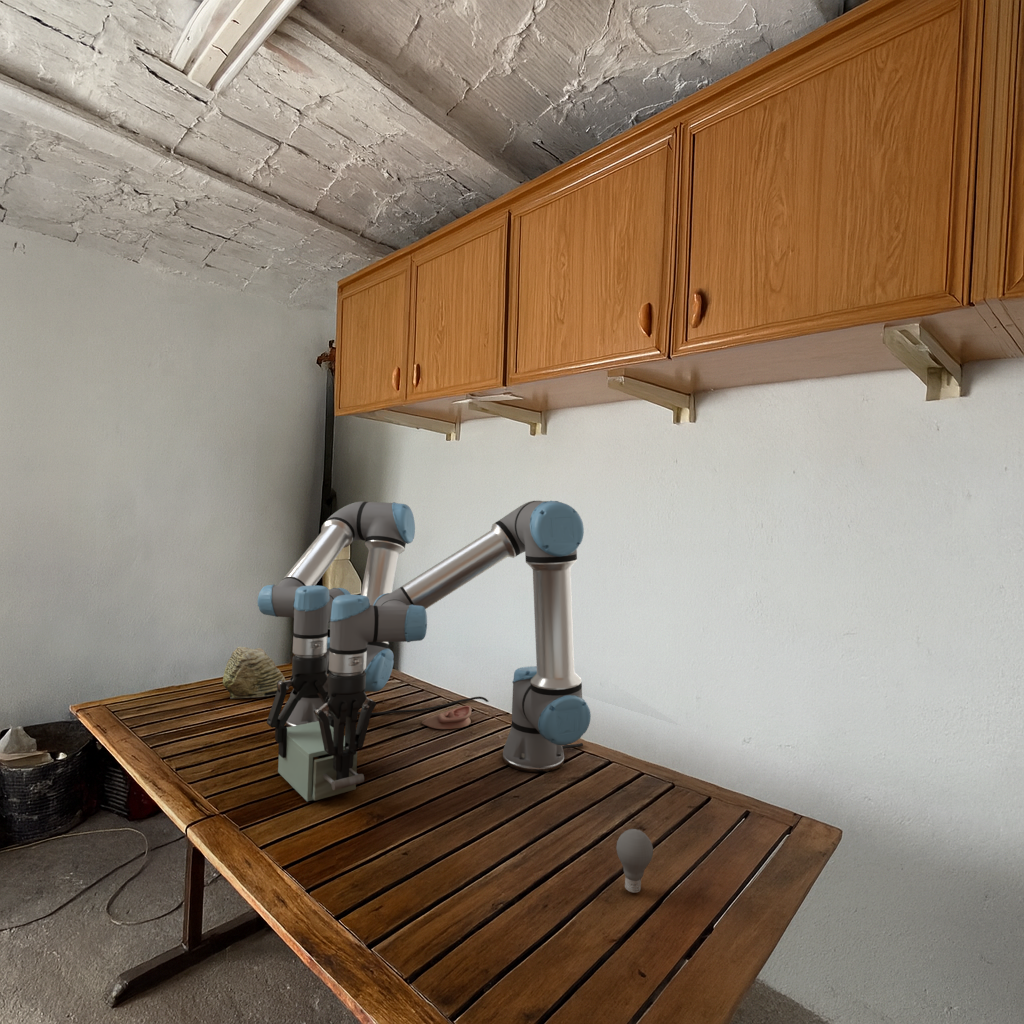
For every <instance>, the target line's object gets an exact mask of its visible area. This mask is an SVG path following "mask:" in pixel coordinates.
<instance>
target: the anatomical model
mask: <svg viewBox="0 0 1024 1024" xmlns="http://www.w3.org/2000/svg"><path fill="white" fill-rule="evenodd" d="M471 715H472V707H471V706H470V705H462V706H459V707H456V708H455V707H454V708H452V709H449V710H447V711H444V712H441V713H437V714H434V715H430V716H429V717H427V718H425V719H423V720H422V721H421V724H422V725H423V726H426V727H429V728H432V729H436V730H453V729H454V730H455V729H460V728H465V727H468V726H469V725H470V724H471V722H472V721H471V718H470V717H471Z"/></svg>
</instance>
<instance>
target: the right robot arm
mask: <svg viewBox="0 0 1024 1024" xmlns="http://www.w3.org/2000/svg"><path fill="white" fill-rule="evenodd" d="M584 534H585V526H584V523H583V520H582V518H581V515H580V514H579V512H578V511H576V509H575V508H574V507H572V506H571V505H569V504H567V503H564V502H562V501H559V500H530V501H528V502H525V503H523V504H522V505H520V506H518V507H516V508H515V509H514V510H512V511H510V512H509V513H508V514H506V515H504V516H503V517H502V518H500V519H498V520H497V521H495V522H494V523H493V524H492V526H491V529H490V530H489V531H487V532H486V533H484V534H483V535H481V536H480V537H478V538H476V539H475V540H473V541H471V542H469V543H468V544H467V545H465V546H463V547H462V548H460V549H459V550H457V551H455V552H454V553H452V554H451V555H449V556H447V557H446V558H444V559H442V560H441V561H440V562H438V563H436V564H435V565H433V566H432V567H430V568H428V569H427V570H425V571H424V572H422V573H420V574H419V575H417V576H416V577H414V578H412V579H411V580H410V581H408V582H406V583H405V584H403V585H401V586H400V587H398V588H396V589H395V590H392V593H386V594H383V595H381V596H379V597H378V598H377V599H376V600H375V602H374V604H373V605H370V603H369V598H368V597H367V596H363V595H361V594H351V595H340V596H337V597H336V598H334V600H333V602H332V610H331V618H330V619H331V620H330V622H329V625H330V626H329V629H330V630H329V637H330V650H329V668H328V669H329V670H330V673H329V674H328V695H327V698H326V700H325V704H324V705H323V706H321V707H320V708H315V709H314V713H315V715H316V716H317V718H318V720H319V725H320V730H321V735H322V740H323V745H324V750H325V751H326V752H327V753H328V754H329V755H331V756H332V755H333V769H334V770H335V771H336V772H337V775H336V780H339V779H343V778H347V777H349V769H350V768H352V767H353V758H354V755H355V754H356V752H357V750H361V749H363V747H364V745H365V744H364V743H365V740H366V736H367V732H368V728H369V724H370V720H371V718H372V717H371V716H372V715H371V713H373V711H374V709H375V708H376V707H377V702H376V701H375V700H373V699H371V698H369V697H367V693H366V692H365V685H366V673H365V671H364V670H365V669H366V661H367V643H368V642H388V643H401V642H403V643H405V642H407V643H410V642H411V643H412V642H419V641H423V640H424V639H425V638H426V635H427V631H428V613H427V609H428V608H430V607H431V606H433V605H435V604H436V603H438V602H439V601H441V600H443V599H444V598H446V597H447V596H448V595H450V594H452V593H454V592H455V591H457V590H458V589H460V588H461V587H463V586H465V585H466V584H468V583H470V582H471V581H472V580H474V579H476V577H478V576H480V575H482V574H483V573H485V572H487V571H488V570H489V569H491V568H492V567H494V566H496V565H497V564H499V563H500V562H502V561H503V560H505V559H506V558H511V559H515V558H516V557H518V556H519V555H521V554H522V553H525V554H524V556H525V563H526V564H527V565H528V566H529V567H530V568H531V570H532V586H533V588H532V589H533V611H534V635H535V637H534V638H535V658H536V659H535V660H536V661H535V662H536V665H531V666H521V667H518V668H516V669H515V670H514V672H513V680H512V703H511V725H510V726H511V727H510V730H509V732H508V736H507V738H506V741H505V744H504V746H503V750H502V761H503V762H504V764H505V765H507V766H508V767H510V768H512V769H515V770H517V771H522V772H526V773H547V772H553V771H556V770H558V769H560V768H561V767H562V766H563V765H564V763H565V752H564V750H566V749H573V748H574V749H575V748H580V747H583V746H584V744H583V742H580V743H576V742H577V741H578V740H580V739H581V738H582V737H583V736H584V734H585V733H586V732H587V731H588V729H589V726H590V725H591V724H590V723H591V717H592V715H591V709H590V706H589V704H588V703H587V701H586V700H585V699H584V698H583V681H582V678H581V676H579V674H578V673H577V672H576V671H575V649H574V625H573V624H574V623H573V622H574V621H573V597H572V595H573V593H572V570H571V569H572V567H573V566H574V565H575V564H576V562H577V561H578V548H579V547H580V545H581V544H582V542H583V539H584ZM328 709H329V710H330V711H331V712H332V714H333V719H334V732H333V739H332V734H331V729H330V724H329V720H328V718H327V716H328V714H329V713H328ZM358 712H360V715H359V714H358ZM358 715H359V717H358ZM344 736H345V751H343V746H344ZM347 787H348V786H347ZM344 788H345V787H344Z"/></svg>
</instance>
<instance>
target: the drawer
mask: <svg viewBox="0 0 1024 1024" xmlns="http://www.w3.org/2000/svg"><path fill="white" fill-rule="evenodd" d="M343 751H345V750H343ZM357 769H358V751H356V754H355V755H354V758H353V767H352V768H350V769H349V777H347V778H343V779H339V780H336V775H337V772H336V771H335V770H334V769H333V755H332V756H331V755H329V754H325V755H321V756H317V757H313V775H312V792H313V800H312V801H315V802H316V801H319V800H323V799H327V798H330V797H333V796H334V797H335V796H337V795H340V794H344V793H347V792H351V791H355V790H357V785H358V784H361V783H364V782H365V776H364V774H363V773H357V771H358V770H357ZM347 786H348V787H347ZM344 787H345V788H344Z"/></svg>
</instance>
